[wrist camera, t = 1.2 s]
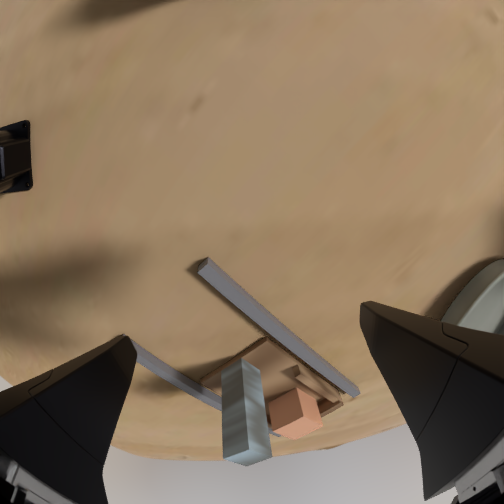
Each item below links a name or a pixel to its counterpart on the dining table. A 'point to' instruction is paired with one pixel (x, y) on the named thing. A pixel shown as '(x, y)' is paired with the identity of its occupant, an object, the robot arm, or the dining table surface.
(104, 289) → the dining table surface
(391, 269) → the dining table surface
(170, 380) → the lane
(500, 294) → the cake pan
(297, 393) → the cube
